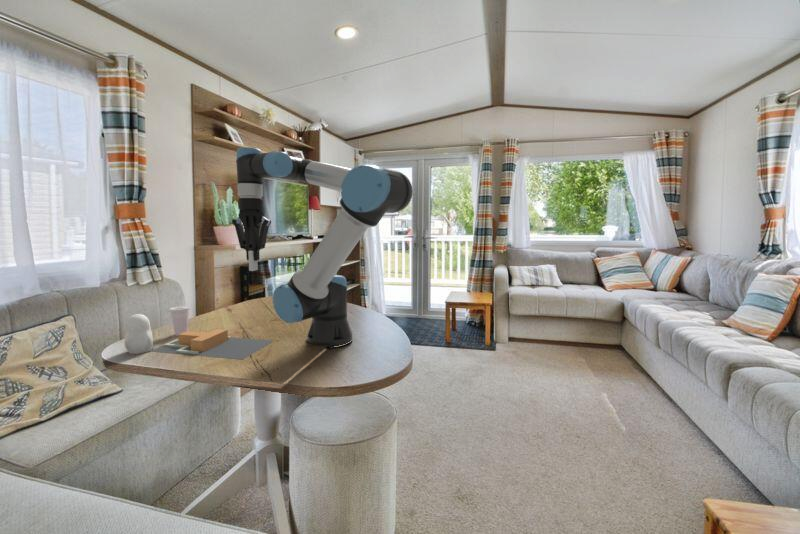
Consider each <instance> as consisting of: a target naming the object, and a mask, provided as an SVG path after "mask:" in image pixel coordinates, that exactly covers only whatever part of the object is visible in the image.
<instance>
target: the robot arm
mask: <svg viewBox="0 0 800 534" xmlns="http://www.w3.org/2000/svg"><path fill="white" fill-rule="evenodd" d="M235 163H236V177H237V179H236V180H237V196H238V197H239V198H238V200H237V202H238V203H237V205H238V210H239V212H238V216H237V217H236V218H235V219H234V218H233V219H232V221H231V223H232V224H233V226H234V229H235V232H236V235H237V239H238V243H239V248H240V249H243V250H245V255H246V261H248V271H249V272H255V271H258V270H259V267H258V266H259V264H258V261H260V250H262V249H265V248H266V243H267V237H268V233H269V227H270V225H271V224H272V220H271V219H268V218H267V217H265V213H264V200H263V197H264V186H263V179H278V180H285V181H295V182H301V183H303V184H304V183H305V184H309V185H312V186H313V185H314V186H318V187H321V188H325V189H330V190H333V191H337V192H340V194H341V195H340V196H341V199H340V200H339V205H340V208H341V210H340V211H339V212H338V214H337V216H336V217H335V219H334V221H332V224H331V225H330V227H329V228H328V229H327V231H326V233H325V234H324V236H323V238H322V239H321V241H320V242H319V244H318V246H317V247H316V248H315V250H314V252H313V253H312V255H311V257H310V258H309V259H308V261H307V263H306V264H305V266H304V267H303V268H302V269H299V270H297V271H295V272H294V274H293V275H291V277H290V279H289V280H288V282H287V283H286V284H280V285H279V286H277V287H276V288H275V289H274V291H273V293H272V304H273V309H274V311H275V313H276V315H277V316H278V317H279V319H280V320H282V321H283V322H285V323H286V324H287V323H288V324H294V323H300V322H302V321H306V320H309V319H311V323H310V326H309V329H308V333H307V336H306V338H307V339H306V341H307V343H309V345H310V344H311V345H313V346H317V347H318V346H320V347H334V346H339V345H343V344H346V343H348V342H350V341H351V340H352V341H353V332H352V330H351V327H350V323H349V320H348V284H347V283H348V282H347V278H346V276H344V275H339V274H337V273H338V272H339V270H340V268H341V267H342V266H343V264H344V262H346V260H347V258H348V257H349V255H350V254H351V253H352V252H353V250H354V248H355V247H356V246H357V244H358V243H359V242H360V240H361V238H363V235H365V233H366V231H367V230H368V228H373V227H376V226H377V225H378V224H379V223H380V221H381V220H382V219H383V217H384V215H385V214H390V213H392V214H394V213H400V212H401V211H403V210H405V209H406V207H408V206H409V204H410V202H411V201H412V198H413V191H414V190H413V185H412V183H411V180H410V179H409V178H408V176H407V175H405V174H404V173H403V172H400V171H399V170H393V169H390V168H385V167H381V166H379V165H375V164H361V165H357V166H355V167H353V168H349V167H344V166H340V165H336V164H335V165H334V164H331V163H330V164H329V163H324V162H320V161H314V160H311V159H307V158H300V157H295V156H290V155H288V154H287V152H285V151H280V150H279V151H276V150H273V151H269V152H263V153H262V150H261V149H260V148H256V147H250V146H249V147H248V146H245V147H244V146H243V147H239V148H238V149H237V150H236V160H235Z"/></svg>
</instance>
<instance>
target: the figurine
mask: <svg viewBox="0 0 800 534" xmlns="http://www.w3.org/2000/svg"><path fill="white" fill-rule="evenodd" d="M150 322H151V321H150V319H149V318H148V317H147V316H146V315H144V314H142V313H136V314H132V315H130V316H129V317H128V318H127V319H126V322H125V335H124V346H125V347H124V348H125V349H126V350H127V352H128V353H129V354H130V355H138V354H145V353H148V351H150V350H153V345H154V340H153V338H154V337H153V332H152V329H151V323H150Z"/></svg>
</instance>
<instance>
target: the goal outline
mask: <svg viewBox="0 0 800 534" xmlns="http://www.w3.org/2000/svg"><path fill="white" fill-rule="evenodd" d="M231 337H232V336H230V335H228V339H231ZM176 342H178V338H177V339H174V340H171V341H170V342H166V343H164V344H163V345H164V346H167V347H179V348H181V349H179V350H176V352H178V353H189V354H199V351H189V350H186V349H188V348H190V346H189V345H176V344H174V343H176Z"/></svg>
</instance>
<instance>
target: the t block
mask: <svg viewBox="0 0 800 534" xmlns="http://www.w3.org/2000/svg"><path fill="white" fill-rule="evenodd" d="M228 331H229V330H228V329H219V328H216V329H214V330H211V331H210V332H208V331H207V332H206V331H191V330H187V331H186V332H183V333H181V334H178V336H177V339H178V343H179V345H189V346H191V351H199V352H204V351H206V350H208V349H210V348H212V347H215V346H217V345H219V344H221V343H223V342H225V341H227V340H228V336H229V334H228Z"/></svg>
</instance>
